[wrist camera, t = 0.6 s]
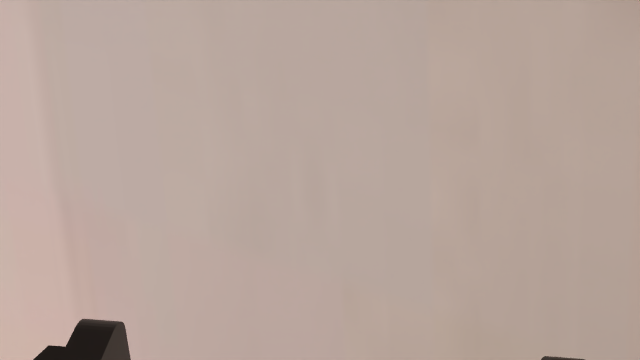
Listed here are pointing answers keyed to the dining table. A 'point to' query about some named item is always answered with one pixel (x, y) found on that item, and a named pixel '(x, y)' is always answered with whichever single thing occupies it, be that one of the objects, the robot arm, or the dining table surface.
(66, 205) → the dining table surface
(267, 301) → the dining table surface
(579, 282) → the dining table surface
